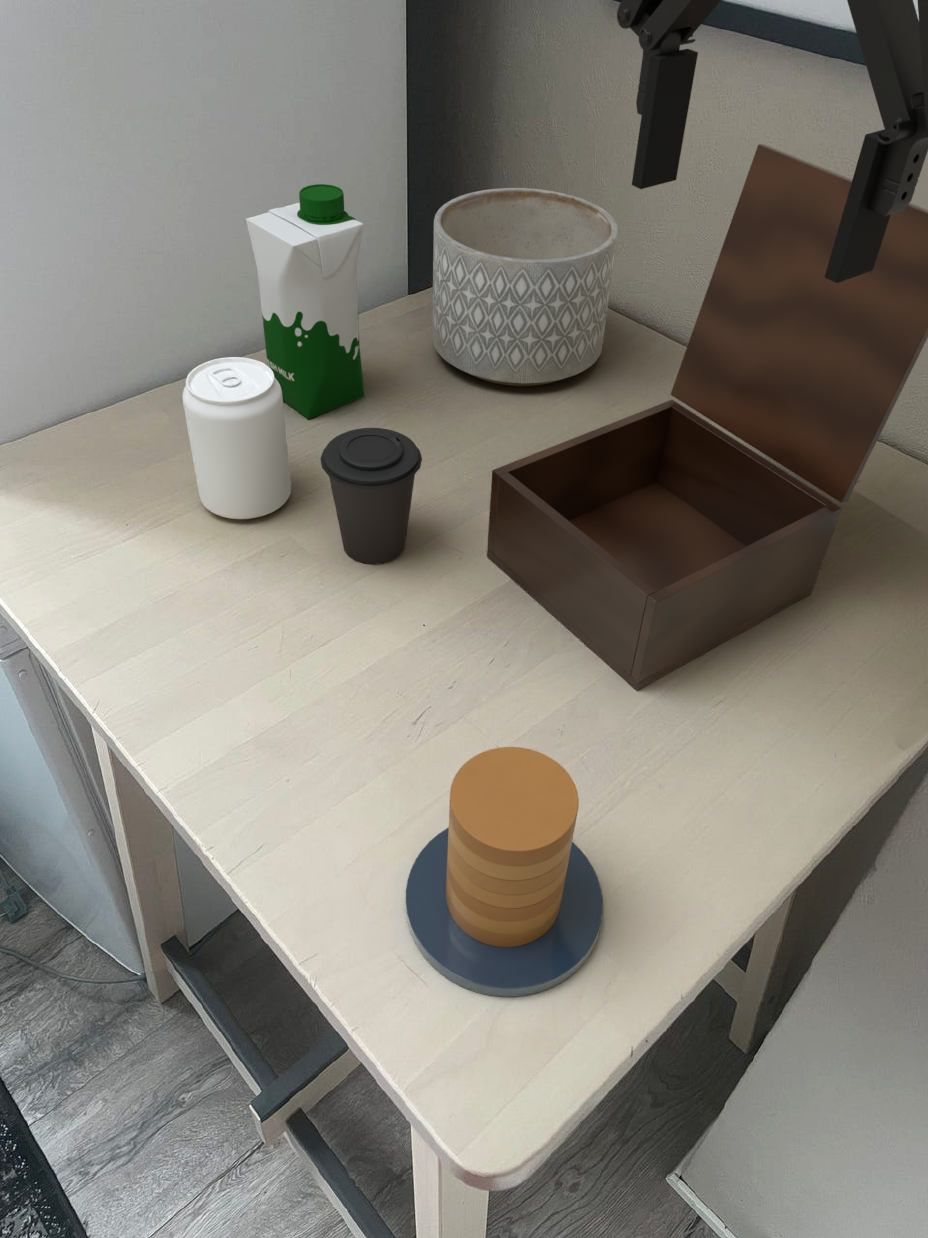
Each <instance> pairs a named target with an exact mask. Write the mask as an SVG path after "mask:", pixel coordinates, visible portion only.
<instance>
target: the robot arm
mask: <svg viewBox="0 0 928 1238" xmlns="http://www.w3.org/2000/svg"><path fill="white" fill-rule="evenodd" d="M722 1H723V0H621V1H620V3H619V5H618V8H617V11H616V20H617V23H618V25H619V27H620V28H621V29H624V30H627V29H630V30H631V31H632V32H633V33H634V34H635V35H636V36H637V37H638V43H639V46H640V48H641V49H642V57H641V58H642V59H641V66H640V71H639V80H638V87H637V92H636V93H637V94H636V101H635V103H636V104H635V105H636V114H638V115H640V116H641V118H640V124H639V130H638V131H639V132H638V137H637V145H636V152H635V159H634V165H633V173H632V179H631V180H632V181H631V186H633V187H635V188H637V189H639V190H644V189H647V188H648V189H649V188H651V187H655V186H658V185H662V184H666V183H671V182H674V181H677V178H678V172H679V166H680V161H681V160H680V159H681V154H682V149H683V143H684V142H683V141H684V138H685V137H684V136H685V131H686V124H687V119H688V114H689V108H690V101H691V96H692V90H693V84H694V79H695V72H696V67H697V61H698V56H699V51H697V50H696V51H695V50H694V49H690V48H684V49H680V48H681V46H683V45H688V44H694V42H696V38H693V37H694V33H695V32H696V31H697V30H698V29H699V28H700V26H701V25H702V24H703V23H704V22H705V21H706V19H707V18H708V17H709V16H710V15H711V14H712V13H713V11H714V10H715V9H716V8H717V7H718V6H719V4H720V3H721V2H722ZM846 1H847V5H848V8H849V12H850V15H851V18H852V22H853V25H854V29H855V32H856V35H857V39H858V43H859V46H860V50H861V53H862V57H863V60H864V63H865V67H866V70H867V74H868V77H869V81H870V84H871V87H872V91H873V93H874V96H875V100H876V104H877V108H878V111H879V114H880V117H881V121H882V124H883V129H881V130H877V131H874V132H873V131H872V132H870V133H867V134H866V133H865V135H864V137H863V142H862V145H861V149H860V152H859V156H858V159H857V162H856V166H855V168H854V169H855V170H854V173H853V177H852V183H851V186H850V190H849V193H848V197H847V200H846V204H845V207H844V211H843V214H842V218H841V221H840V225H839V228H838V232H837V235H836V239H835V242H834V246H833V249H832V253H831V256H830V260H829V263H828V267H827V270H826V274H825V278H827V279H829V280H831V281H833V282H835V283H839V282H842V281H845V280H847V279H850V278H853V277H856V276H858V275H861V274H864V273H867V272H870V271H872V270H873V269H874V265H875V262H876V259H877V256H878V253H879V250H880V247H881V244H882V240H883V237H884V234H885V231H886V228H887V225H888V222H889V218H890V215H891V214H893V213H897V212H900V211H903V210H904V209H905V208H906V207H907V206H908V204H909V203H911V202H912V200H913V197H914V194H915V191H916V187H917V185H918V182H919V178H920V176H921V172H922V169H923V166H924V164H925V161H926V157H927V155H928V0H917V10H916V6H915V3H914V0H846ZM917 13H918V14H917ZM690 38H691V39H690Z"/></svg>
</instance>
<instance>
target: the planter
mask: <svg viewBox="0 0 928 1238" xmlns="http://www.w3.org/2000/svg"><path fill="white" fill-rule="evenodd" d="M618 236H619V226H618V224H617V221H616V220H615V218H614V217H613V216H612V215H611V214H610V213H609V212H608V211H606V210H605V209H604V208H602V207H601V206H599V205H597V204H595V203H593V202H591V201H589V200H586V199H585V198H581V197H578V196H574V195H572V194H568V193H564V192H559V191H555V190H554V191H553V190H547V189H540V188H530V187H529V188H527V187H501V188H500V187H499V188H491V189H490V188H489V189H483V190H477V191H473V192H469V193H465V194H462V195H459V196H457V197H455V198H452V199H451V200H449V201H447V202H446V203H444V204H443V205H442V206H440V208H438V210H437V211H436V213H435V214H434V218H433V250H432V251H433V252H432V254H433V256H432V259H433V260H432V313H431V314H432V318H431V319H432V320H431V321H432V322H431V324H432V325H431V326H432V327H431V338H432V345H433V346H434V348H435V351H436V352H437V353H438V354H439V355H440V357H441V358H442V359H444V361H446V363H448V364H449V365H451V366H453V367H455V368H456V369H458V370H460V371H462V372H464V373H467V374H469V376H473V377H474V378H477V379H480V380H483V381H485V382H489V383H493V384H497V385H505V386H513V387H533V386H542V385H547V384H551V383H555V382H558V381H561V380H566V379H568V378H571V377H574V376H577V375H578V374H581V373H583V372H584V371H587V369H589V368H591V367H592V366H593V365H594V364H595V363H596V362H597V361H598V359H599V357H600V356H601V354H602V350H603V344H604V338H605V331H606V322H607V317H608V308H609V302H610V295H611V294H610V293H611V289H612V279H613V272H614V266H615V259H616V250H617V245H618Z"/></svg>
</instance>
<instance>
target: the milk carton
mask: <svg viewBox="0 0 928 1238" xmlns="http://www.w3.org/2000/svg"><path fill="white" fill-rule="evenodd" d="M298 192H299V193H298V197H299V198H298V199H299V202H296V203H293V204H289V205H286V206H282V207H275V208H271V209H269V210H268V211H267V212H265V213H261V214H258V215H254V216H251V217H247V218H245V222H246V226H247V230H248V234H249V239H250V243H251V248H252V252H253V257H254V262H255V265H256V272H257V280H258V281H257V282H258V289H259V299H260V308H261V316H262V327H263V337H264V345H265V354H266V365H267V366H268V367H270V369H271V370H272V371H273V373H274V377H275V378H276V380H277V381H278V382H279V384H280V386H281V390H282V398H283V403H285V404H286V405H287V406H289V407H290V408H292V409H293V410H294V411H296V412H298V413H299V414H300V415H302V416H303V417H305V418H306V419H307V420H310V419H313V418H315V417H318V416H320V415H322V414H325V413H327V412H330V411H332V410H335V409H337V408H340V407H341V406H344V405H347V404H349V403H352V402H354V401H356V400H359V399H361V398H364V397H365V387H364V377H363V376H364V375H363V368H362V367H363V366H362V357H361V345H360V344H361V343H360V321H359V320H360V319H359V294H358V293H359V291H358V260H359V254H360V249H361V243H362V236H363V230H364V223H362V222H361V221H358V220H357V219H356V218H354V217H353V216H352V215H349V213H348V212H347V211H345V198H344V191H343V189H341V187H339V186H336V185H332V184H326V183H318V184H310V185H307V186H304V187H302V188H301V189H300V190H299V191H298Z"/></svg>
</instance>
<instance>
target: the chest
mask: <svg viewBox="0 0 928 1238" xmlns="http://www.w3.org/2000/svg"><path fill="white" fill-rule="evenodd" d="M490 485H491V486H490V501H489V502H490V503H489V516H488V530H487V532H488V533H487V546H486V547H487V549H486V557H487V558H488V559H489V560H490V561H491V562H492V563H494V564H495V566H497V567H498V568H499V569H500V570H502V572H503V573H505V575H507V576H508V577H509V578H510V579H511V580H513V581H514V582H515V583H516V584H517V585H518V586H519V587H520V588H522V590H524V592H526V593H527V594H528V595H529V596H530V597H531V598H533V599H534V601H536V602H537V603H538V604H539V605H541V606H542V607H543V608H544V609H545V610H546V611H547V612H548V613H550V615H551V616H553V617H554V619H556V620H557V621H558V622H559V623H561V624H562V626H564V627H565V628H566V629H567V630H568V631H569V632H571V633H572V634H573V635H574V636H575V637H576V638H577V639H578V640H579V641H581V642H582V643H583V644H584V645H585V646H586V647H587V648H588V649H589V650H590V651H592V652H593V653H594V654H595V655H596V656H597V657H598V658H600V660H602V661H603V662H604V663H605V664H606V665H607V666H609V667H610V668H611V670H613V671H614V672H615V673H616V674H617V675H619V676H620V678H622V679H623V680H624V681H625V682H627V684H628V685H630V686H631V687H632V688H633V689H634V690H635V691H639V690H641V689H643V688H645V687H647V686H648V685H650V684H652V683H654V682H656V681H658V680H659V679H661V678H662V677H664V676H666V675H668V674H669V673H671V672H674V671H675V670H677V669H678V668H680V667H683V666H684V665H686V664H688V663H690V662H691V661H693V660H695V659H697V658H698V657H700V656H702V655H704V654H706V653H708V652H710V651H711V650H713V649H715V648H716V647H718V646H721V645H722V644H724V643H725V642H727V641H729V640H731V639H732V638H735V637H737V636H738V635H740V634H742V633H743V632H745V631H746V630H749V629H750V628H753V627H755V626H756V625H758V624H760V623H762V622H763V621H765V620H767V619H768V618H771V617H772V616H774V615H775V614H777V613H779V612H781V611H783V610H784V609H786V608H788V607H790V606H792V605H794V604H795V603H797V602H799V601H801V600H802V599H804V598H806V597H808V596H810V595H811V594H813V591H814V589H815V585H816V583H817V580H818V577H819V574H820V571H821V568H822V566H823V563H824V560H825V558H826V554H827V551H828V549H829V546H830V544H831V540H832V538H833V535H834V532H835V530H836V527H837V523H838V521H839V518H840V515H841V512H842V510H843V507H842V506H840V505H838V504H837V503H836V502H834V501H833V500H831V499H830V498H828V497H826V496H825V495H823V494H822V493H820V492H818V491H817V490H816V489H814V488H813V487H811V486H809V485H807V484H806V483H805V482H803V481H801V480H800V479H798V478H797V477H795V476H794V475H792V474H790V473H789V472H787V471H785V470H783V469H782V468H781V467H779V466H778V465H776V464H775V463H773V462H771V461H770V460H768V459H766V458H765V457H764V456H762V455H761V454H758V453H757V452H755V451H754V450H752V449H751V448H749V447H748V446H746V445H745V444H743V443H741V442H740V441H738V440H736V439H735V438H734V437H732V436H730V435H729V434H727V433H726V432H724V431H722V430H721V429H719V428H718V427H716V426H714V424H712V423H710V422H708V421H707V420H706V419H704V418H702V417H700V416H699V415H697V414H696V413H695V412H693V411H691V410H690V409H688V408H686V407H685V406H683V405H682V404H680V403H678V402H677V401H676V400H673V399H670V400H667V401H664V402H662V403H659V404H657V405H654V406H653V407H649V408H647V409H644V410H642V411H639V412H637V413H634V414H631V415H629V416H626V417H623V418H620V419H619V420H616V421H613V422H611V423H608V424H606V425H604V426H600V427H598V428H596V429H594V430H590V431H588V432H586V433H582V434H581V435H578V436H576V437H573V438H569V439H568V440H565V441H563V442H560V443H558V444H556V445H553V446H550V447H548V448H545V449H542V450H540V451H538V452H535V453H533V454H530V455H527V456H525V457H522V458H520V459H517V460H515V461H511V462H509V463H507V464H505V465H502V466H500V467H497V468H495V469H492V471H491V484H490Z"/></svg>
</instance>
